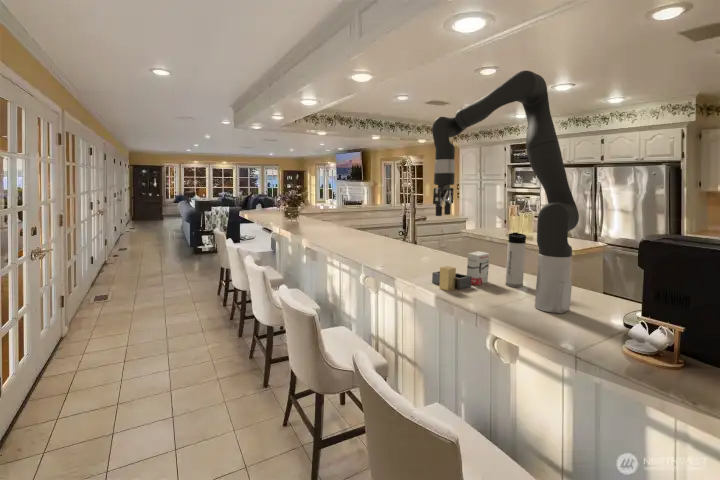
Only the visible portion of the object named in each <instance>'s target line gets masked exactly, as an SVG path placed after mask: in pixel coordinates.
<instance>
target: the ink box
mask: <svg viewBox="0 0 720 480" xmlns="http://www.w3.org/2000/svg"><path fill="white" fill-rule="evenodd" d="M490 255H491V253H489V252H485V251H480V250H478V251H473V252H469V253H468V254H467V267H466V275H467V276H472V277H471V285H473V286H480V285H482V284H486V283H488V280H489V268H490Z"/></svg>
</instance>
